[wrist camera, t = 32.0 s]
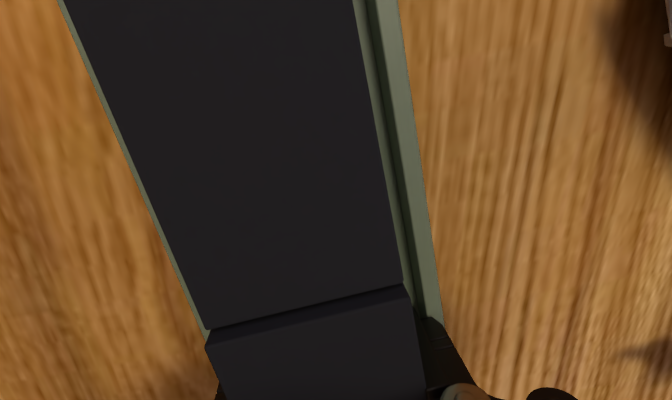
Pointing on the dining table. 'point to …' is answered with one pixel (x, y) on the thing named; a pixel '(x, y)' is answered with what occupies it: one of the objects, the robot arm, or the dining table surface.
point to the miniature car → (671, 37)
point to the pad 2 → (324, 351)
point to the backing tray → (394, 141)
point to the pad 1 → (250, 146)
